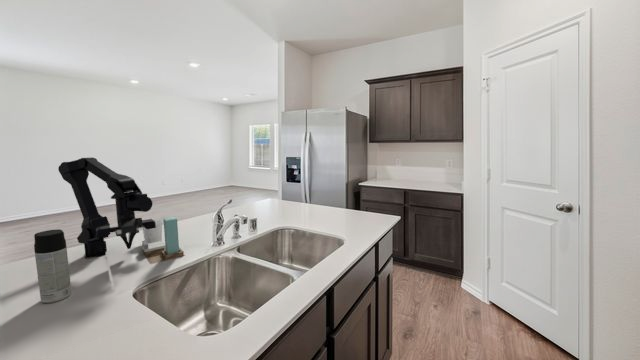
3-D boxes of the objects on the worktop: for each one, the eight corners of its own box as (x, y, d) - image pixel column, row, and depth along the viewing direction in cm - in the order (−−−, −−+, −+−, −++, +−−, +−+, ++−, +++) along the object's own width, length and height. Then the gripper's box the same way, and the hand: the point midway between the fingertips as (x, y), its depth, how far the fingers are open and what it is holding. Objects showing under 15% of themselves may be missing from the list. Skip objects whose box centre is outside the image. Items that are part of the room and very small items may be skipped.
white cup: (148, 247, 122) (146, 225, 120) (140, 243, 126) (139, 222, 125) (166, 242, 128) (165, 221, 127) (159, 238, 133) (157, 218, 131)
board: (150, 266, 102) (149, 260, 102) (142, 252, 116) (141, 246, 115) (185, 258, 110) (184, 252, 110) (173, 245, 124) (173, 240, 123)
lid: (144, 252, 109) (144, 245, 109) (141, 247, 115) (141, 240, 114) (165, 247, 114) (164, 241, 114) (161, 243, 119) (160, 236, 119)
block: (168, 257, 108) (165, 220, 106) (166, 254, 111) (163, 218, 109) (179, 255, 111) (177, 218, 109) (176, 252, 114) (174, 216, 112)
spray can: (69, 289, 86) (62, 227, 84) (74, 296, 82) (66, 231, 79) (39, 298, 81) (30, 232, 79) (42, 306, 77) (33, 237, 74)
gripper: (95, 218, 95) (99, 261, 97) (157, 210, 107) (160, 248, 109) (94, 212, 103) (98, 252, 105) (151, 205, 115) (154, 241, 117)
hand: (128, 248), depth 109 cm, fingers closed
